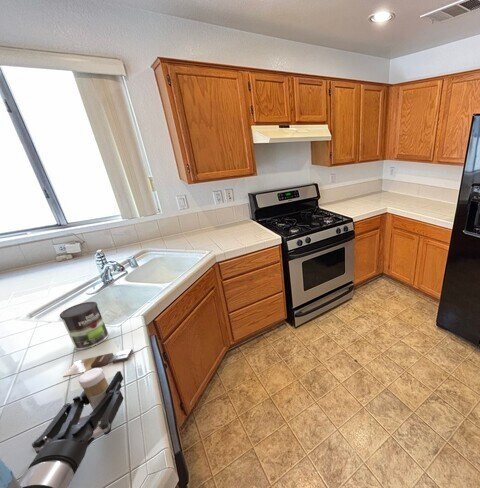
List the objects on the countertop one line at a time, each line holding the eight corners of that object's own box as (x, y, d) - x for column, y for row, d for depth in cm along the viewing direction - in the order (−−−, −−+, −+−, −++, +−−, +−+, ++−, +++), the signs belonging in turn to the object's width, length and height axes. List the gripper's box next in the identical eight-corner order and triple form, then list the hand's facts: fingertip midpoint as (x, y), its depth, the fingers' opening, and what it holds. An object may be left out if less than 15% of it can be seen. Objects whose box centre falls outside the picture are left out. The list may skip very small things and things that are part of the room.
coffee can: (115, 334, 103) (103, 303, 99) (85, 352, 94) (70, 319, 89) (98, 329, 107) (85, 299, 102) (67, 347, 97) (52, 314, 93)
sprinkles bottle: (99, 411, 69) (81, 371, 64) (120, 403, 71) (104, 364, 66) (95, 426, 65) (75, 385, 61) (117, 417, 67) (99, 376, 63)
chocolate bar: (63, 377, 84) (61, 373, 83) (76, 361, 90) (74, 358, 90) (126, 362, 88) (125, 359, 87) (134, 348, 94) (133, 345, 94)
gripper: (2, 503, 48) (76, 397, 70) (110, 469, 53) (149, 379, 74) (-18, 476, 46) (65, 375, 67) (97, 444, 50) (141, 358, 71)
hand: (109, 377), depth 70 cm, fingers closed on sprinkles bottle, 4 cm apart
